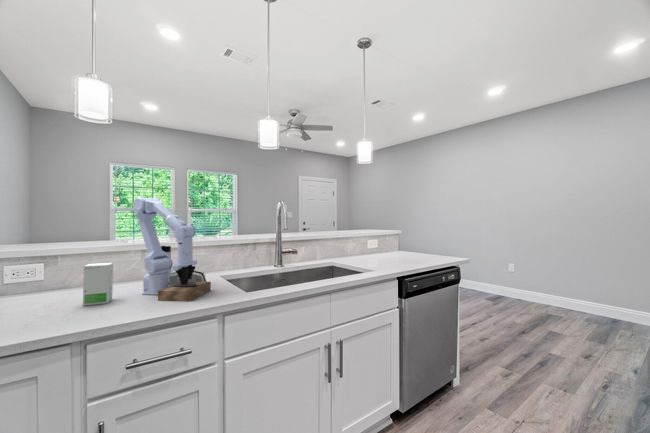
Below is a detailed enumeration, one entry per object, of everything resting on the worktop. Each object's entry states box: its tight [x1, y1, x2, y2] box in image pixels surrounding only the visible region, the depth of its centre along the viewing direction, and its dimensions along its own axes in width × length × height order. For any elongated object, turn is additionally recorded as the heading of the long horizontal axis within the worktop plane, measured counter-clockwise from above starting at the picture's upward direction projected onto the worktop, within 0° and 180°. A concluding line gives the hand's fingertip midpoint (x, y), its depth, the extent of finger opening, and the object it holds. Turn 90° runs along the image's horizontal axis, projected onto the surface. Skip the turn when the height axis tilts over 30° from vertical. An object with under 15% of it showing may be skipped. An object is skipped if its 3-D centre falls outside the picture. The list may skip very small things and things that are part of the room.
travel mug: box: [160, 245, 172, 285], centre depth 137 cm, size 6×7×20 cm
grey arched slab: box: [169, 269, 208, 286], centre depth 131 cm, size 17×5×10 cm, turn 95°
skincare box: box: [82, 262, 114, 307], centre depth 109 cm, size 8×7×16 cm
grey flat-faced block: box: [176, 278, 196, 287], centre depth 118 cm, size 8×2×7 cm, turn 84°
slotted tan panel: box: [157, 281, 212, 302], centre depth 118 cm, size 14×16×4 cm
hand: (185, 283), depth 118 cm, fingers closed on grey flat-faced block, 2 cm apart
